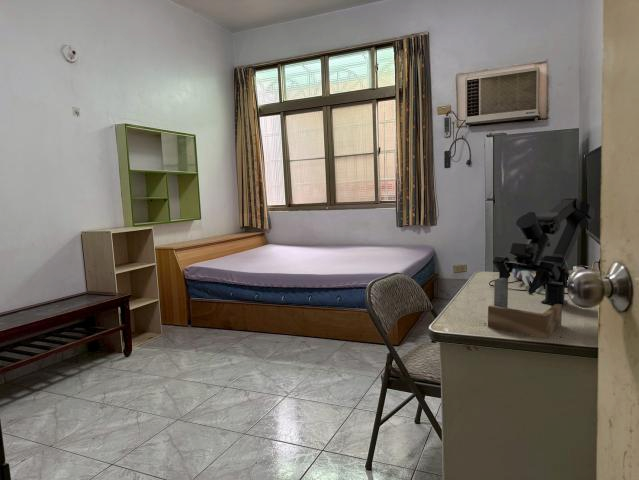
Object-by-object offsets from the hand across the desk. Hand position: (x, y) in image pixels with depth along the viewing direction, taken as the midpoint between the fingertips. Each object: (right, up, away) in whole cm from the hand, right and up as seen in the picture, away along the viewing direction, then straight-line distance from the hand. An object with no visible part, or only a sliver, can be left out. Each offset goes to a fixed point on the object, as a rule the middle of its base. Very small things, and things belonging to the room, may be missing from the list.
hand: (514, 290), depth 130 cm
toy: (+24, -3, +44) cm, 50 cm away
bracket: (-4, -9, -6) cm, 11 cm away
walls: (0, -10, -6) cm, 11 cm away
